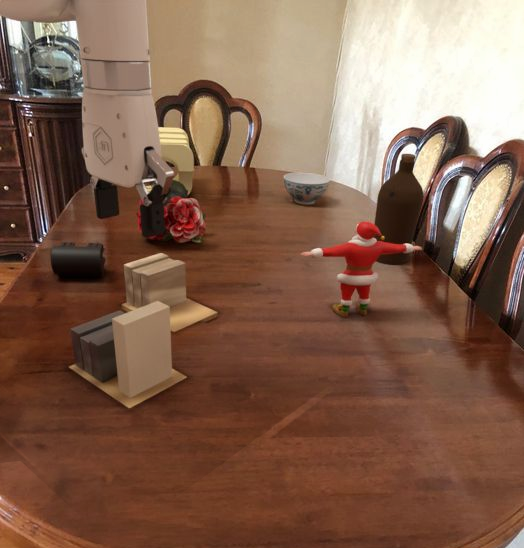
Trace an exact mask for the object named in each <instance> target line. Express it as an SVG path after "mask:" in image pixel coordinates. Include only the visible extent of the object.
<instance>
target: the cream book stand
mask: <svg viewBox="0 0 524 548" xmlns="http://www.w3.org/2000/svg"><path fill="white" fill-rule="evenodd" d="M186 266H187V265H186V262H184V261H182V260H179V259H172V258H170V255H168V254H165V253H162V252H160V253H156V254H153V255H149V256H146V257H144V258H140V259H137V260H134V261H130V262H127V263H124V264H123V272H124V285H125V295H126V302H125V303H122V304H121V310H123V311H125V312H126V313H128V312H130V311H133V310H135V309H138V308H141V307H143V306H146V305H148V304H151V303H154V302H156V301H159V302H161V303H163V304H165V305H167V306H169V307H170V330H171V332H172V333H176V332H177V331H179V330H182V329H184V328H186V327H189V326H191V325H194V324H195V323H198V322H199V321H201V322H203V323H207V322H209V321H211V320H214V319H216V318H218V316H219V315H218V314H219V313H218V311H216V310H214V309H211V308H210V307H207V306H205V305H202V304H200V303H198V302H196V301H194V300H192V299H190V298H187V271H186V269H187V267H186Z"/></svg>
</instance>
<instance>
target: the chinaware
mask: <svg viewBox="0 0 524 548" xmlns="http://www.w3.org/2000/svg"><path fill="white" fill-rule="evenodd" d="M330 182H331V179H330V178H329V176H326V175H323V174H318V173H312V172H290V173H286V174H284V175H283V183H284V187H285V189H286V192H287V193H288V195H290V196H291V198H292V199H294V203H296V204H299V205H307V206H308V205H314V204H315V203H316V202H315V201H316V200H318V199H320V198H321V197H322V196H323V195H324V194H325V193H326V191H327V190H328V187H329V185H330Z"/></svg>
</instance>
